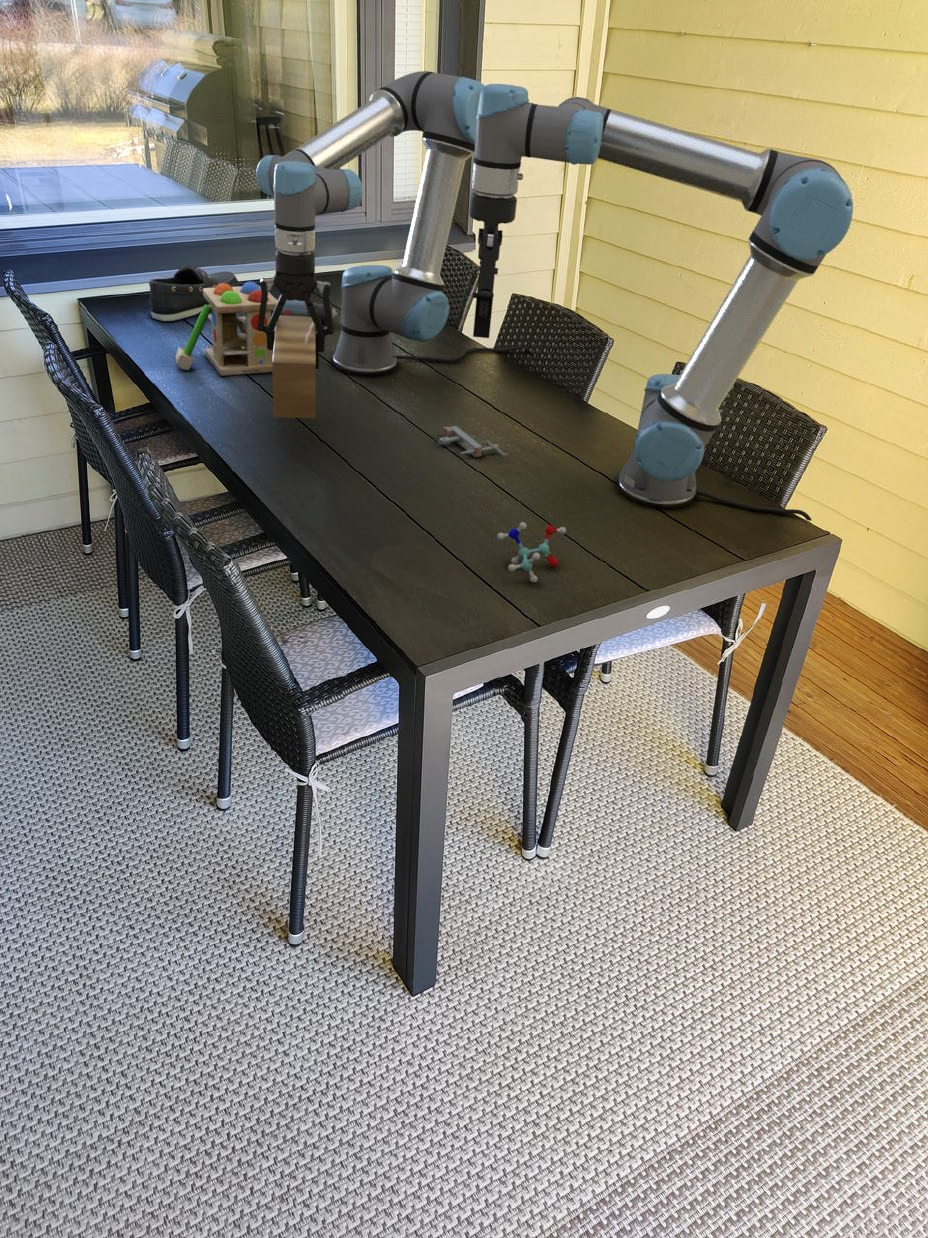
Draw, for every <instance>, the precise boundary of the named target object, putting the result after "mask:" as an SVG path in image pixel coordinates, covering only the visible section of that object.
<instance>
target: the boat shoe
mask: <svg viewBox="0 0 928 1238" xmlns="http://www.w3.org/2000/svg"><path fill="white" fill-rule="evenodd" d="M221 283H226V284H228V285H230V286H231V287H240V285H239V280H238V278H237V277H236V275H235V274H234V273H233V272H231V271H220V272H213V273H210V274H208V273H207V272H206V271H205V270H204V269H202V268H199V267H195V266H191V265H186V266H185V265H184V266H183V267H181V268H179V269H178V270H177V271H176V272H175V273H174V274H173V277H172V276H171V277H167V278H166V277H165V278H152V279H150V280H149V281H148V285H149V291H150V292H149V302H148V306H151V309H150V313H151V317H152V318H153V319H155V320H157V321H162V322H171V321H172V322H173V321H178V320H182V319H184V318H188V317H192V316H196V315H197V314H200V313H201V311H202V309H203V307H204V305H208V306H210V307H211V305H210V304H209V302H208V301H207V300H206V299H205V297H204V296H203V289H204V288H215V287H216V286H217V285H218V284H221Z"/></svg>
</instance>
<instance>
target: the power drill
mask: <svg viewBox="0 0 928 1238" xmlns="http://www.w3.org/2000/svg"><path fill="white" fill-rule="evenodd" d="M275 299H276V300H277V301H278V299H279V298H275ZM313 303H314V306H315V308H316V311H317V313H318V316H319V318H320V320H321V322H326V317H325V311H324V304H323V303H317V302H313ZM330 307H331V314H332V321H333V320H334V319H336V318H337V317H338V312H337V311H336V308H334V307H333V306H332V305H331V304H330ZM273 312H274V310H271V316H272V314H273ZM280 315H283V316H303V317H311V315H310V313H309V311H308V308H307V306H306V304H305V302H304V300H303V301H298V300H292V301H288V300H286V303H285V305H284V307H283V309H282V312H281V314H280Z"/></svg>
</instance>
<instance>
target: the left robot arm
mask: <svg viewBox="0 0 928 1238" xmlns="http://www.w3.org/2000/svg"><path fill="white" fill-rule="evenodd" d="M484 86H486V85H485V84H484V83H482V82H481V81H479V80H475V79H473V78H469V77H465V76H457V75H451V74H445V73H438V72H434V71H430V70H429V71H428V70H419V71H415V72H411V73H408V74H405V75H402V76H401V77H398V78H396V79H394V80H391V81H390V82H388V83H386V84H384V85H383V86H381V87H379V88H378V89H376V90H374V91H373V92H372V93H371V95H370V96H369V100H368V101H367V102H366V103H364V104H363V105H361V106H360V107H358V108H357V109H354V111H352V112H351V113H348V115H345V116H344V117H343V118H341V119H340V120H338V121H337V122H335V123H334V124H332V125H330V126H328V127H327V128H326V129H324V130H322V131H321V132H319V133H318V134H316V135H315V136H313V137H312V138H310V139H308V140H306V141H305V142H303V143H302V144H301V145H299V146H297V147H296V148H294V149H293V150H291V151H289V152H288V153H286V154H284V155H283V156H280V155H278V154H275V155H273V154H269V155H265V156H263V157H262V158H261V159H260V161H259V162H258V164H257V167H256V172H255V177H256V183H257V185H258V188H259V189H260V190H261V192H263V193H264V194H266V195H269V196H272V197H273V203H274V242H275V243H274V246H275V248H276V249H277V250H275V252H274V253H275V255H274V257H275V259H274V260H275V274H274V275H273V277H272V278H265V277H261V278H260V280H259V286H260V288H261V292H262V296H261V303H260V311H259V318H258V326H257V329H258V331H262V332H265V333H266V335H267V349H268V350H272V351H273V350H274V339H275V328H276V322H277V321H278V319H279V316H280V314H281V312H282V309H283V307H284V305H285V303H286V300H288V301H292V300H298V301H303V300H304V302H305V304H306V306H307V308H308V311H309V313H310V315H311V318H312V320H313V323H314V324H315V331H316V332H315V348H316V370H320V369H319V368H320V367H319V366H320V365H319V362H320V361H319V360H320V359H319V358H320V357H319V355H320V353H324V352H325V346H326V345H325V339H326V336H328V335H333V334H334V332H335V331H334V323H333V322H334V321H333V320H332V314H331V307H330V305H331V301H330V293H331V283H330V281H327V280H326V281H321V280H318V278H317V277H316V254H315V252H314V251H315V249H316V216H321V215H327V214H335V213H336V214H337V213H344V212H348V211H351V210H354V209H356V208H357V207H358V206H359V205H360V203H361V201H362V199H363V184H362V181H361V179H360V177H359V176H358V174H357V173H356V172H355V171H354V170H352V169H350V168H342V167H344V166H346V165H347V164H348V163H350V162H351V161H353V160H354V159H355V158H357V157H358V156H361V155H362V154H364V153H365V152H366V151H368V150H369V149H371V148H372V147H373V146H375V145H377V144H378V143H380V142H381V141H383V140H384V139H386V138H387V137H391V138H395V137H398V136H399V135H401V134H402V133H405V132H409V131H410V132H411V131H414V132H416V131H417V132H422V137H421V141H422V143H423V145H424V146H425V150H426V151H425V152H426V153H425V156H424V161H423V166H422V171H421V176H420V180H419V184H418V190H417V194H416V199H415V204H414V209H413V213H412V218H411V223H410V226H409V232H408V236H407V242H406V246H405V250H404V256H403V260H402V264H401V265H400V266H399V267H397V268H395V269H394V270H393V268H392V267H390V266H388V265H383V264H364V265H355V266H351V267H348V268H346V269H345V270H344V271H343V273H342V277H341V278H342V279H341V286H340V289H341V290H340V291H341V292H340V294H341V295H340V298H341V299H340V301H341V305H340V306H341V307H340V308H341V310H340V311H341V312H340V314H341V316H340V317H341V319H340V321H341V324H340V325H341V326H340V329H341V330H340V336H339V338H338V341H337V344H334V345H333V347H332V352H333V361H332V362H333V363H332V364H333V366H334V367H335V368H337V369H338V370H339V371H342V372H344V373H347V374H352V375H356V376H380V375H381V376H382V375H386V374H389V373H391V372H393V371H395V369H396V368H397V361H398V360H407V361H409V360H412V361H427V362H429V361H430V362H435V363H436V362H438V363H453V362H458V361H460V360H461V359H463V358H464V357H465V356H466V355H467V354H471V353H475V352H479V353H480V352H484V353H485V352H488V353H507V352H513V351H518V350H521V351H523V350H522V349H523V347H522V346H523V345H515V346H510V347H509V346H508V347H503V348H502V347H501V348H498V347H497V348H496V347H495V348H494V347H472V348H471V347H470V348H467V349H465V350H463V351H462V352H461V353H460V354H459V355H458V356H455V357H443V358H442V357H434V356H421V355H399V354H396V352H395V347H394V343H393V341H392V337H391V336H392V335H391V334H395V335H398V336H400V337H403V338H405V339H406V340H410V341H411V340H412V341H416V342H420V343H425V342H429V341H431V340H434V338H436V336H437V335H438V334H440V333H441V331H442V330H443V328H444V327H445V325H446V323H447V322H448V321H447V320H448V318H449V314H450V304H449V303H450V302H449V298H448V297H447V295H446V294H445V293H444V288H445V282H444V280H443V279H442V276H441V270H442V267H443V261H444V258H445V257H444V256H445V252H446V248H447V243H448V241H449V240H448V239H449V235H450V231H451V227H452V222H453V218H454V214H455V213H454V212H455V209H456V203H457V201H458V200H457V199H458V196H459V191H460V186H461V182H462V177H463V173H464V169H465V164H466V161H467V160H468V159H469V158H471V157H473V156H474V155H475V140H476V124H477V119H476V117H477V115H478V108H479V100H480V93H481V90H482V88H483V87H484ZM272 286H275V288H276V289H277V291H278V292H279V293H280V294H279V297H278V298H277V299H278V302H277V304H276V307H275V309H274V312H273V314H272V316H271V319H270V321H269V324H268V325H266V324H264V321H265V313H266V306H267V299H268V292H271V291H272V289H273V287H272ZM316 288H317V289H318V292H319V293H320V294H321V295H322V304H324V311H325V317H326V321H325V322H326V323H325V324H326V326H325V327H324V325H323V323H322V321H321V320H320V318H319V316H318V313H317V311H316V308H315V306H314V303H315V302H314V301H313V298H312V296H311V295H312V293H313V292H314V290H315V289H316ZM524 351H525V352H527V353H528V354H529V355H534V354H535V353H534V351H533V352H531V351H530V350H524Z"/></svg>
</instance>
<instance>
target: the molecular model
mask: <svg viewBox="0 0 928 1238" xmlns="http://www.w3.org/2000/svg"><path fill="white" fill-rule="evenodd" d="M527 526H528V525H527V523H526V522H524V521H521V522H520V523H519V525H518V527H517V528H511V529H510V530H509V532H505V533H504V532H498V533H497V535H496V537H497V539H498V540H499V541H503V540H504V539H505V538H509V537H510V538H511V539H512V540H514V541H515V542H516V545H517V546H518V548H519V550H518V551H517V552H518V555H516V556H515V557H512V558H511V561H510V562H511V563H510V564H509V565H508V567H507V568H508V571H509V572H511V573H512V572H515V571H516V570H519V569H522V570H523V571H527V573H528V574H529V577H530V578H529V581H530V583H537V582H538V580H539V579H538V577H537V575H535V574H534V572H533V570H532V567H533V562H534V561H539V560H540V558H541V555H544V557H545V559H546V560H547V561H548V564H549V566H550V567H551V568H557V567H558V566H559V560H558V558H556V557H554V556H553V554H552V553H551V551H550V546H549V545H548V543H549V541H550V537H551V536H553V535H554V534H555V533H559V534H560V535H565V534H566V532H567V529H566V527H564V526H561V527H559V528H555V527H554V526H553V525H547V526H546V527H545V529H544V532H545V535H546V536H545V538H544V541H543V543H541V544H539V545H538V547H536V548H531V549H528V548H527V547H524V546H523V544H522V541H521V540H520V535H521V534H520V532H521V531H522V530H525V529H526V528H527ZM530 554H532V557H531V558H530V559H528V557H529V556H530ZM540 554H541V555H540ZM520 559H522V560H521V563H519V560H520Z"/></svg>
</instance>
